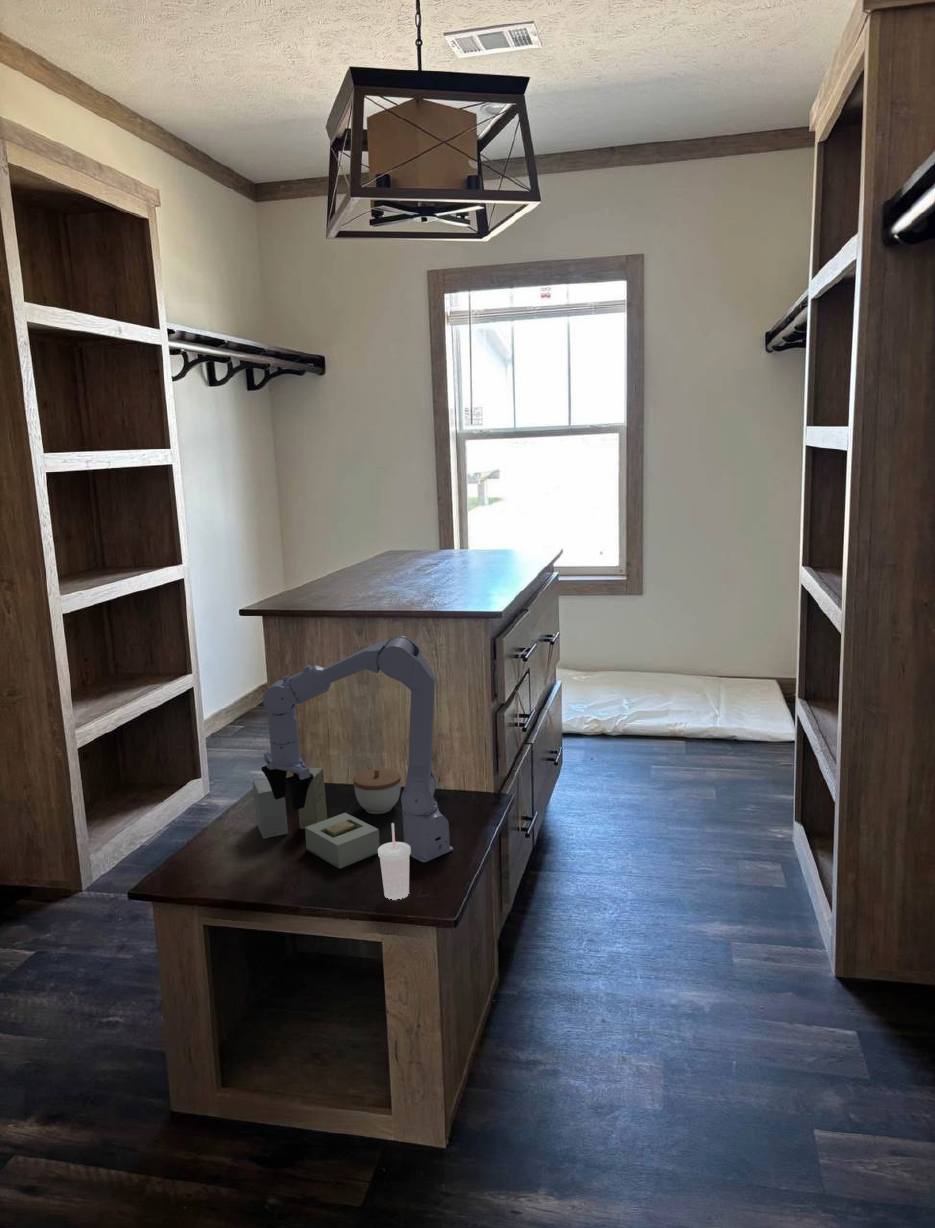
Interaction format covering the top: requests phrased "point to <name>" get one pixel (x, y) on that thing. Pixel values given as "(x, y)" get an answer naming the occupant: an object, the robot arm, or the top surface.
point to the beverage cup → (395, 868)
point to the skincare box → (314, 800)
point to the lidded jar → (377, 789)
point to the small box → (269, 810)
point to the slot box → (342, 841)
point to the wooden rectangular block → (340, 829)
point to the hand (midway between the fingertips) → (289, 803)
